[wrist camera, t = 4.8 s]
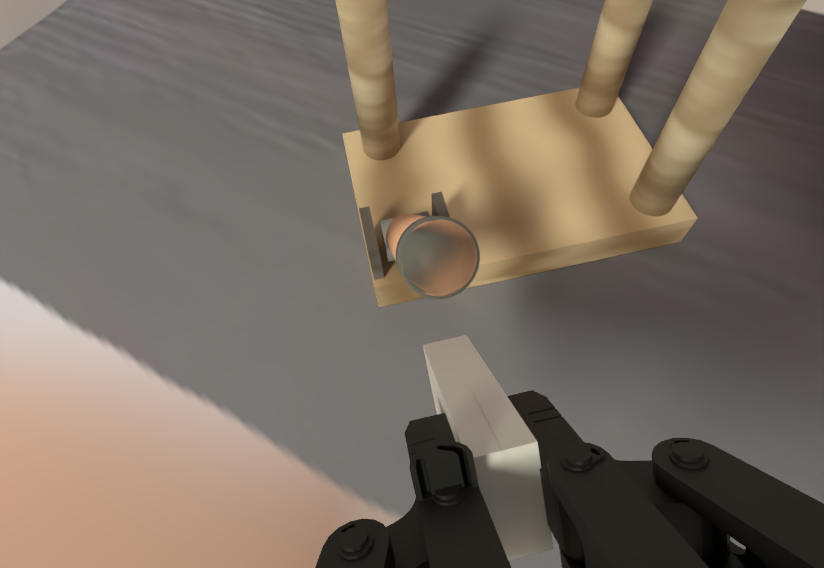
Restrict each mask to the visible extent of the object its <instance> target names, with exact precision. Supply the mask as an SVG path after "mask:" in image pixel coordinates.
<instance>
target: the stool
mask: <svg viewBox="0 0 824 568" xmlns="http://www.w3.org/2000/svg"><path fill="white" fill-rule="evenodd" d="M805 1H806V0H728V1H727V3H726V5H725V7H724V9H723V11H722V13H721V15H720V17H719V19H718V21H717V23H716V25H715V27H714V29H713V31H712V33H711V35H710V37H709V39H708V41H707V43H706V45H705V47H704V49H703V51H702V53H701V55H700V57H699V58H698V60H697V62H696V64H695V66H694V68H693V70H692V72H691V74H690V76H689V78H688V80H687V82H686V84H685V86H684V88H683V90H682V92H681V94H680V96H679V98H678V100H677V102H676V104H675V106H674V108H673V110H672V112H671V114H670V116H669V118H668V120H667V122H666V124H665V126H664V128H663V130H662V132H661V134H660V136H659V138H658V140H657V142H656V144H655V145H654V147H653V149H652V147H651V146H650V144H649V143H648V141H647V140H646V138H645V137H644V135H643V134H642V132H641V130H640V129H639V127H638V126H637V124H636V123H635V121H634V120H633V118H632V117H631V115H630V114H629V112H628V111H627V109H626V107H625V106H624V104H623V103H622V101H621V100H620V98H619V97H618V93H619V90H620V88H621V85H622V82H623V80H624V77H625V74H626V72H627V69H628V66H629V64H630V61H631V58H632V56H633V53H634V50H635V48H636V45H637V42H638V40H639V37H640V34H641V32H642V29H643V26H644V24H645V21H646V18H647V16H648V13H649V10H650V8H651V5H652V2H653V0H605V2H604V5H603V9H602V12H601V16H600V19H599V23H598V26H597V29H596V33H595V36H594V40H593V43H592V47H591V50H590V54H589V57H588V61H587V64H586V68H585V71H584V74H583V78H582V81H581V85H580V88H576V89H571V90H566V91H561V92H555V93H550V94H545V95H540V96H535V97H530V98H524V99H519V100H514V101H509V102H504V103H498V104H493V105H488V106H483V107H478V108H473V109H467V110H462V111H457V112H452V113H447V114H442V115H436V116H431V117H426V118H421V119H416V120H410V121H405V122H400V123H398V114H397V104H396V93H395V83H394V72H393V62H392V52H391V41H390V31H389V20H388V10H387V0H336V5H337V10H338V16H339V21H340V26H341V32H342V37H343V43H344V48H345V53H346V59H347V64H348V69H349V75H350V80H351V86H352V91H353V96H354V102H355V107H356V113H357V118H358V123H359V129H360V130H359V131H353V132H348V133H343V139H344V144H345V149H346V154H347V158H348V163H349V168H350V173H351V178H352V183H353V187H354V192H355V197H356V202H357V207H358V212H359V217H360V221H361V226H362V231H363V236H364V241H365V246H366V250H367V255H368V260H369V265H370V270H371V275H372V279H373V284H374V289H375V293H376V297H377V301H378V306H379V307H383V306H387V305H392V304H396V303H401V302H406V301H410V300H415V299H420V298H424V296H421V295H419V294H418V293H416V292H415V291H413V290H412V289H411V288H410V287H409V286H408V285H407V284H406V283H405V281H404V279H403V278H402V276H401V274H400V272H399V270H398V267H397V263H396V260H394V261H389V262H388V260H387V256H386V252H385V247H384V242H383V238H382V233H381V228H380V222H379V221H381V220H386V219H390V218H395V217H397V216H399V215H402V214H415V213H420V212H424V211H428V213H429V215H430V216H443V217H449V218H453V219H455V220H458V221H459V222H461V223H463V224H464V225H465V226H466V227H467V228H468V229H469V230H470V231H471V232H472V233H473V235H474V237H475V238H476V241H477V243H478V246H479V251H480V262H479V267H478V271H477V273H476V276H475V277H474V279H473V281H472V282H471V283H470V285H469V286H468V287H467V288H470V287H475V286H479V285H484V284H489V283H493V282H498V281H502V280H507V279H512V278H516V277H521V276H526V275H530V274H535V273H539V272H544V271H549V270H553V269H558V268H562V267H567V266H572V265H576V264H581V263H585V262H590V261H595V260H599V259H604V258H609V257H613V256H618V255H622V254H627V253H632V252H636V251H641V250H645V249H650V248H655V247H659V246H664V245H668V244H673V243H678V242H681V240H682V239H683V238H684V236H685V235H686V233H687V232H688V231H689V229H690V228H691V227H692V225H693V224H694V223H695V221H696V220H697V216H696V215H695V213H694V212H693V210H692V209H691V207H690V206H689V204H688V203H687V201H686V200H685V198H684V196H683V195H682V193H683V191H684V189H685V188H686V186H687V185H688V183H689V182H690V180H691V179H692V177H693V175H694V174H695V172H696V171H697V169H698V168H699V166H700V165H701V163H702V162H703V160H704V158H705V157H706V155H707V154H708V152H709V151H710V149H711V148H712V146H713V144H714V143H715V141H716V140H717V138H718V137H719V135H720V134H721V132H722V130H723V129H724V127H725V126H726V124H727V123H728V121H729V120H730V118H731V116H732V115H733V113H734V112H735V110H736V109H737V107H738V106H739V104H740V102H741V101H742V99H743V98H744V96H745V95H746V93H747V92H748V90H749V89H750V87H751V85H752V84H753V82H754V81H755V79H756V78H757V76H758V75H759V73H760V71H761V70H762V68H763V67H764V65H765V64H766V62H767V61H768V59H769V57H770V56H771V54H772V53H773V51H774V50H775V48H776V47H777V45H778V43H779V42H780V40H781V39H782V37H783V36H784V34H785V33H786V31H787V29H788V28H789V26H790V25H791V23H792V22H793V20H794V19H795V17H796V16H797V14H798V12H799V11H800V9H801V8H802V6H803V5H804V3H805Z"/></svg>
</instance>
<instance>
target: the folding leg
mask: <svg viewBox="0 0 824 568" xmlns="http://www.w3.org/2000/svg"><path fill="white" fill-rule="evenodd" d="M379 222H380V228H381V233H382V238H383V242H384V247H385V252H386V256H387V260H388V262H389V261H394V260H396V263H397V267H398V270H399V272H400V274H401V276H402V278H403V279H404V281H405V283H406V284H407V285H408V286H409V287H410V288H411V289H412V290H413V291H415V292H416V293H418V294H419V295H421V296H424V297H427V298H431V299H444V298H449V297H452V296H455V295H457V294H459V293H460V292H462V291H463V290H464V289H466V288H467V287H468V286H469V285H470V283H471V282H472V281H473V279H474V277H475V276H476V273H477V271H478V267H479V262H480V251H479V246H478V243H477V241H476V238H475V237H474V235H473V233H472V232H471V231H470V230H469V229H468V228H467V227H466V226H465V225H464V224H463V223H461V222H459V221H458V220H455V219H453V218H449V217H443V216H430V215H429V213H428V211H424V212H420V213H415V214H402V215H399V216H397V217H395V218H390V219H386V220H381V221H379Z"/></svg>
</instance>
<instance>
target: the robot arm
mask: <svg viewBox="0 0 824 568" xmlns="http://www.w3.org/2000/svg"><path fill="white" fill-rule="evenodd" d="M423 348H424V353H425V358H426V363H427V368H428V373H429V378H430V382H431V387H432V392H433V397H434V402H435V407H436V412H437V415H434V416H429V417H425V418H421V419H417V420H413V421H410V422H409V425H408V427H407V429H406V431H405V437H406V442H407V447H408V452H409V458H410V472H411V476H412V481H413V485H414V490H415V494H416V499H415V502H414V505H413V506H412V508H411V509H410V511H409V512H408V513H407V514H406V515H405V516H404V517H402V518H401V519H399V520H398V521H396V522H395V523H393V524H391V525H389V526H387V527H385V526H384V524H382V523H380V522H378V521H376V520H372V519H360V520H355V521H351V522H349V523H347V524H345V525H343V526H341V527H339V528H338V529H337V530H336V531H334V532H333V534H331V535H330V536H329V537H328V539H327V541H326V543H325V544H324V546H323V548H322V551H321V554H320V556H319V559H318V562H317V565H316V567H315V568H511V566H510V564H509V560H513V559H517V558H520V557H524V556H528V555H532V554H535V553H539V552H543V551H547V550H551V549H553V543H552V537H551V531H552V533H553V535H554V537H555V539H556V540H557V542H558V544H559V549H560V556H561V563H562V568H824V504H823V503H821V502H819V501H817V500H815V499H813V498H812V497H810V496H808V495H806V494H804V493H802V492H800V491H798V490H796V489H795V488H793V487H791V486H789V485H787V484H785V483H783V482H781V481H779V480H778V479H776V478H774V477H772V476H770V475H768V474H766V473H764V472H762V471H761V470H759V469H757V468H755V467H753V466H751V465H749V464H747V463H745V462H744V461H742V460H740V459H738V458H736V457H734V456H732V455H730V454H728V453H727V452H725V451H723V450H721V449H719V448H717V447H715V446H713V445H711V444H708V443H706V442H703V441H701V440H696V439H690V438H672V439H668V440H665V441H661V442H660V443H659V444H657V445H656V446H655V447H654V449H653V452H652V461H619V460H614V459H613V458H612V457H611V455H610V454H609V453H608V452H606V451H605V450H604V449H602V448H601V447H599V446H596V445H593V444H590V443H584V442H583V441H582V439H581V438H580V437H579V436H578V435H577V433H576V432H575V431H574V430H573V429H572V427H571V426H570V425H569V424H568V423H567V421H566V420H565V419H564V418H563V417H562V416H561V414H560V413H559V412H558V411H557V409H555V407H554V406H553V405H552V403H551V402H550V401H549V400H548V399H547V397H545V396H543V395H541V394H539V393H537V392H535V391H527V392H523V393H519V394H515V395H511V396H507V395H506V394H505V392H504V391H503V389H502V388H501V386H500V385H499V383H498V382H497V380H496V379H495V377H494V376H493V374H492V373H491V371H490V370H489V368H488V367H487V365H486V364H485V362H484V361H483V359H482V358H481V356H480V355H479V353H478V352H477V350H476V349H475V347H474V346H473V344H472V343H471V341H470V340H469V338H468V337H467V335H464V336H459V337H455V338H451V339H446V340H442V341H438V342H433V343H429V344H425V345H423ZM550 529H551V530H550ZM730 536H731V537H732V538H733V539H735V540H736V541H738V542H739V543H741V544H742V545H744V546H745V547H746V550H745V549H742V548H740V547H738V546H737V545H735V544H734V543H733V542H731V541H730Z"/></svg>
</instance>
